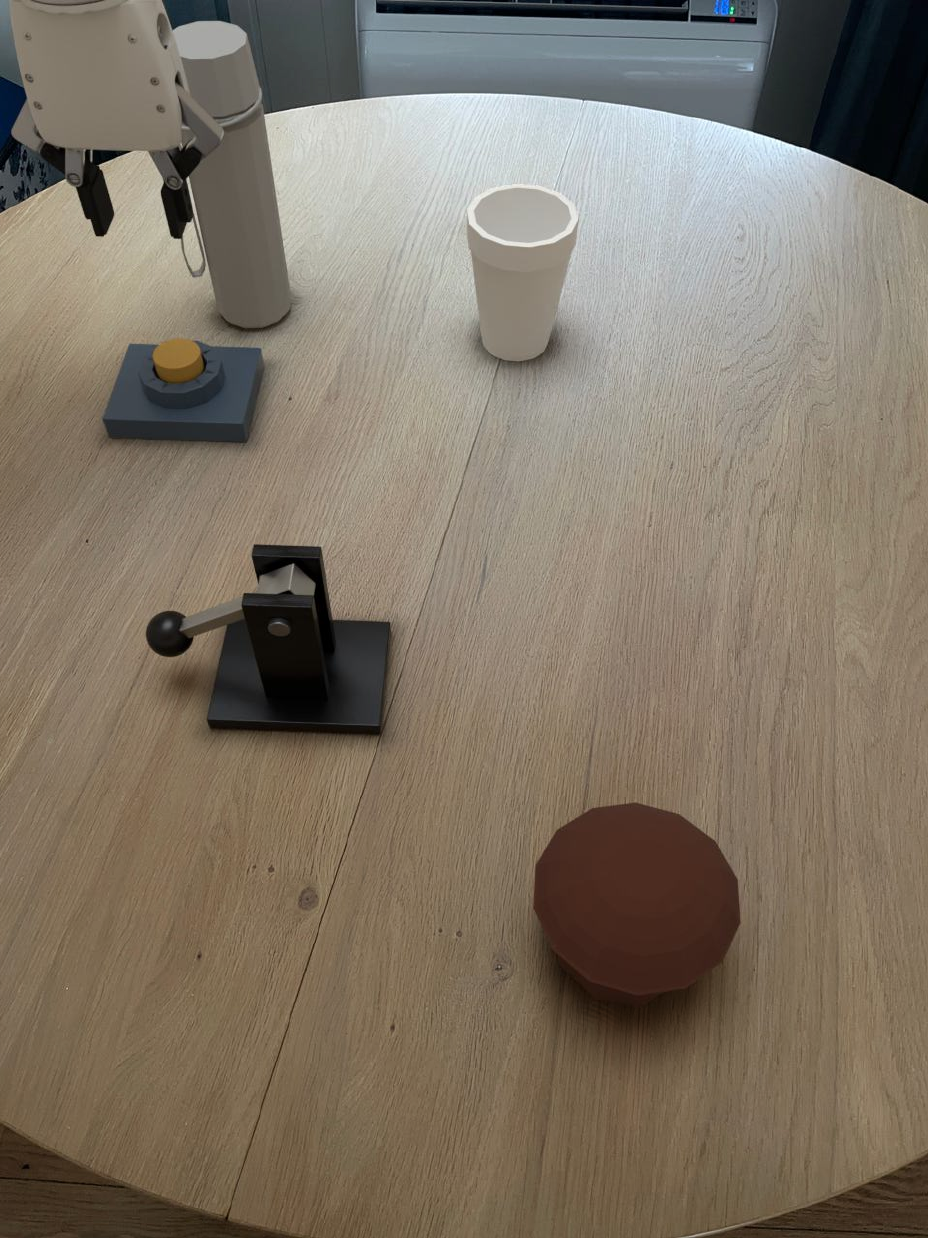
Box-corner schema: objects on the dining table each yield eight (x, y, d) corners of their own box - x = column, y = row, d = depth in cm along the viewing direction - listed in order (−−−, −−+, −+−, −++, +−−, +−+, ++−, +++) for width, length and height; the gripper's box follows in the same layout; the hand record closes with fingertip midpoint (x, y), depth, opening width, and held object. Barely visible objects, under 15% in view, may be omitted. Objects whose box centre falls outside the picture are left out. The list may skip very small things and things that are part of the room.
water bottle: (284, 279, 104) (243, 11, 83) (302, 326, 99) (263, 56, 79) (191, 296, 102) (127, 27, 82) (205, 345, 97) (141, 73, 77)
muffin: (690, 839, 68) (722, 765, 60) (741, 1012, 61) (784, 955, 53) (511, 863, 67) (519, 791, 59) (543, 1041, 60) (557, 987, 52)
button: (152, 383, 89) (147, 367, 87) (162, 353, 91) (157, 337, 90) (199, 385, 89) (195, 369, 87) (207, 354, 91) (204, 338, 90)
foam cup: (546, 382, 95) (558, 257, 84) (451, 358, 96) (451, 233, 86) (576, 321, 100) (590, 196, 90) (485, 299, 102) (489, 174, 91)
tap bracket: (209, 728, 73) (173, 629, 63) (231, 625, 78) (200, 518, 68) (380, 735, 72) (370, 636, 63) (391, 630, 78) (382, 525, 68)
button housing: (108, 438, 90) (96, 402, 87) (135, 362, 96) (123, 326, 93) (247, 442, 90) (239, 407, 86) (264, 366, 96) (258, 330, 92)
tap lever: (164, 670, 72) (130, 647, 70) (173, 633, 74) (141, 609, 72) (314, 619, 67) (284, 592, 64) (320, 580, 69) (291, 552, 66)
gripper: (221, -59, 66) (262, 203, 81) (-44, -66, 67) (45, 196, 81) (198, -7, 62) (247, 260, 76) (-85, -15, 62) (17, 253, 77)
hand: (142, 225), depth 79 cm, fingers open, 5 cm apart
